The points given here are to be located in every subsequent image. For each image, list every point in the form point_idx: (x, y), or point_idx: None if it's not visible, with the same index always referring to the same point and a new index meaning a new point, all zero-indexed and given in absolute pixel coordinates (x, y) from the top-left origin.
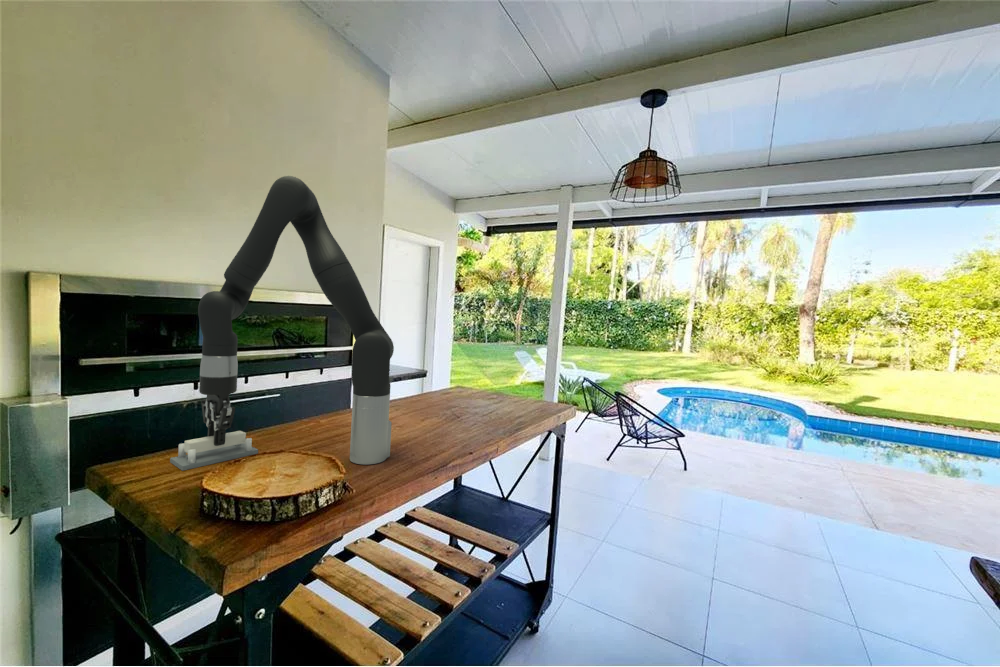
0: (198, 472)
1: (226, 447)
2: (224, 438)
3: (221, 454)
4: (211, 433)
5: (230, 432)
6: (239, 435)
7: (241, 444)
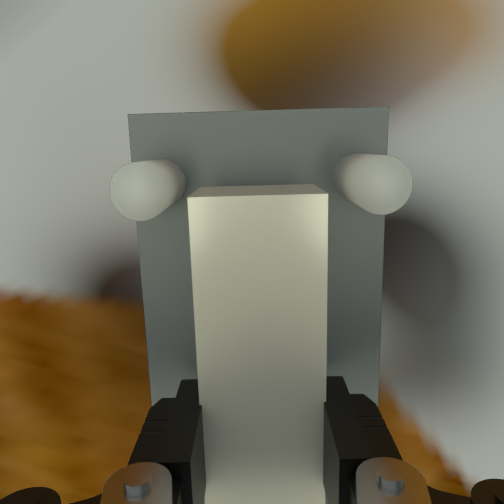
0: (439, 487)
1: (163, 264)
2: (383, 420)
3: None
4: (203, 483)
5: (196, 302)
6: (325, 258)
7: (159, 151)
